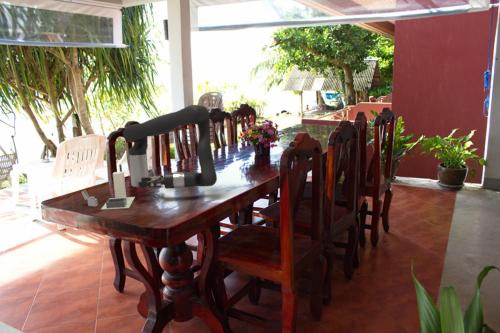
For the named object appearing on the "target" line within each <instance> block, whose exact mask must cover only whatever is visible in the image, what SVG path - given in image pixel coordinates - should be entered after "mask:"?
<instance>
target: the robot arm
mask: <svg viewBox="0 0 500 333" xmlns="http://www.w3.org/2000/svg"><path fill="white" fill-rule="evenodd" d="M210 119H211V118H210V113H209V110H208V108H207V107H206V106H203V105H198V104H191V105H188V106H186V107H183V108H181V109H179V110H178V111H174V112H170V113H166V114H162V115H158V116H156V117H153V118H150V119H148V120H146V121H144V122H141V123H136V124H130V125H127V126H126V127H125V128H124V129H123V132H122V133H123V134H122V135H123V138H124V139H125V141H127V142H129V143H133V145H132V147H130V148H129V149H128V158H129V159H128V160H129V171H130V172H129V173H130V184H131V187H133V188H141V187H142V188H143V187H144V188H145V187H147V188H148V189H152V188H161V187H162V186H163V185H164V189H166V190H168V189H170V190H171V189H182V188H194V187H212V186H214V185H215V184H216V183H217V181H218V176H217V172H216V167H215V162H214V156H213V150H212V143H211V127H210V126H211V124H210V121H211V120H210ZM186 125H197V128H198V133H199V134H198V141H197V146H196V147H197V148H196V152H197V159H198V164H199V167H200V172H194V171H191V172H189V171H187V172H182V171H181V172H180V171H177V172H176V171H175V172H164V174H162V175H151V176H149V166H148V164H149V163H148V153H147V152H148V151H147V150H148V146H149V144H148V140H149V139H148V137H155V136H161V135H165V134H169V133H171V132H174V131H175V130H176V129H177V128H179V127H181V126H186Z"/></svg>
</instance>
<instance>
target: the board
mask: <svg viewBox="0 0 500 333" xmlns="http://www.w3.org/2000/svg"><path fill="white" fill-rule="evenodd" d="M134 200H135V196H126V198H117V199H115V197H112V198H111V197H110V198H108V199H107V201H106V202H105V203H104V205H103V206H102V207H101V210H113V209H114V210H117V209H129V208H130V207H131V205H132V203H133V202H134Z"/></svg>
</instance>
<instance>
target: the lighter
mask: <svg viewBox="0 0 500 333" xmlns="http://www.w3.org/2000/svg"><path fill="white" fill-rule="evenodd" d="M81 195H82V196H83V198H84V200H85V201H87V206H88V207H98V204H99V203H98V198H95V196H89V193H88V192H87V190H86V189H85V190H82V191H81Z"/></svg>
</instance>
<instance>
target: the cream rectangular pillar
mask: <svg viewBox="0 0 500 333" xmlns="http://www.w3.org/2000/svg"><path fill="white" fill-rule="evenodd" d="M122 167H123V166H122V164H120V163H119V171H117V172H116V171H114V172H113V173H112V179H113V188H114V198H115V199H117V198H126V197H127V192H126V182H125V181H126V180H125V172H124V171H123V168H122Z"/></svg>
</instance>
